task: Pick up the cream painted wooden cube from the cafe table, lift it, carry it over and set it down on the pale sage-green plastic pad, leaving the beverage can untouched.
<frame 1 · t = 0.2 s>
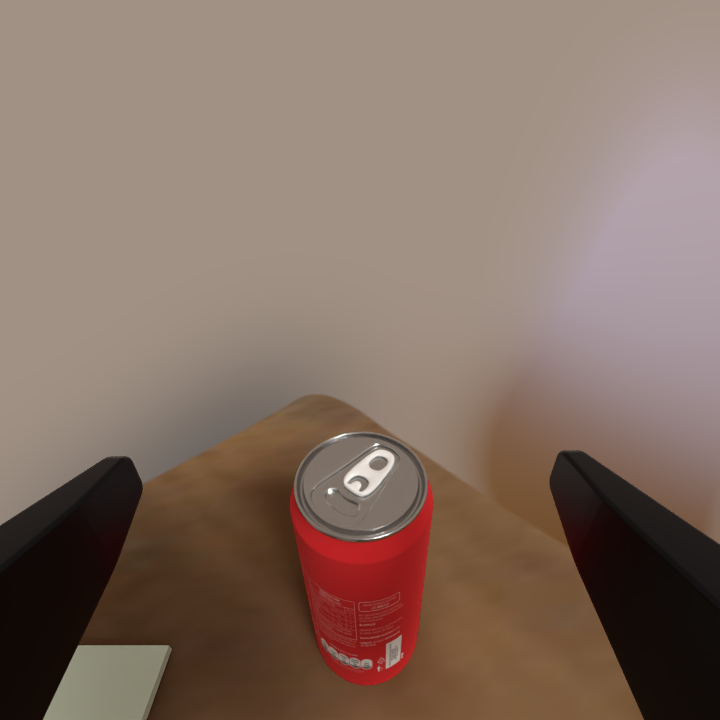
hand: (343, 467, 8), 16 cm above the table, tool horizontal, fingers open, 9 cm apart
beverage can: (366, 632, 20), on the table
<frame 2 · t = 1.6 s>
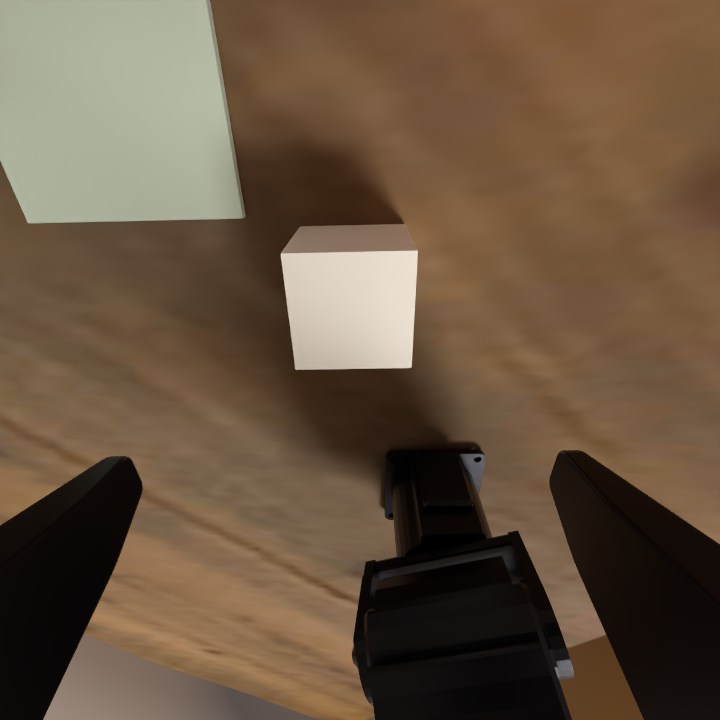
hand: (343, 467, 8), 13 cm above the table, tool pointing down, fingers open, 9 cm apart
cube: (354, 275, 19), on the table
pad: (101, 89, 15), on the table
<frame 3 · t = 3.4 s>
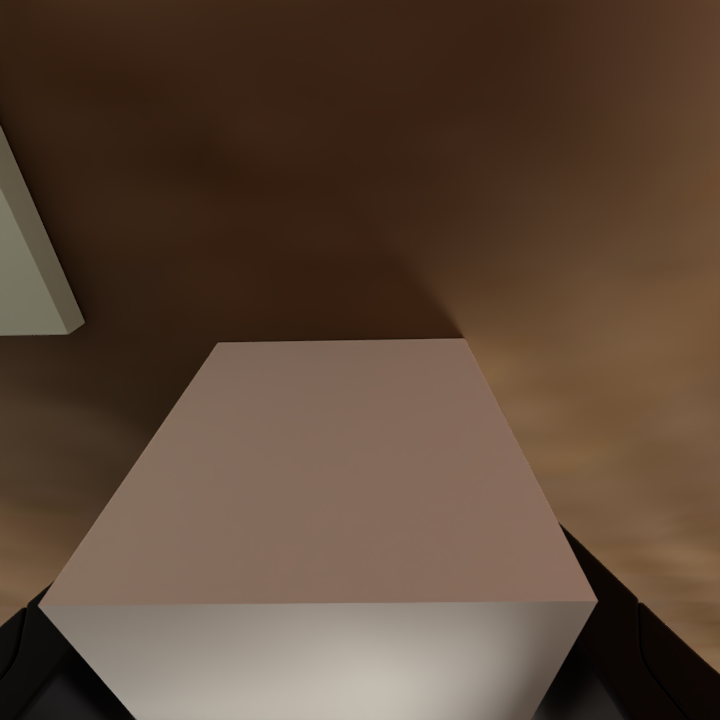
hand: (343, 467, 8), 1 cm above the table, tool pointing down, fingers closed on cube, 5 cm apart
cube: (345, 434, 9), on the table, touching gripper
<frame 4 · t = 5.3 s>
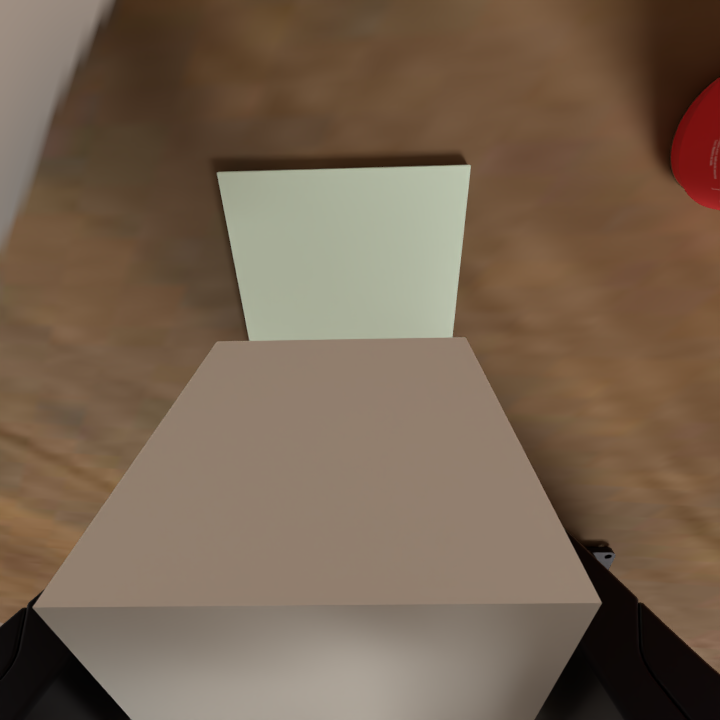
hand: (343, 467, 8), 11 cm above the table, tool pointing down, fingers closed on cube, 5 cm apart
cube: (345, 433, 9), point 10 cm above the table, touching gripper
pad: (348, 286, 18), on the table
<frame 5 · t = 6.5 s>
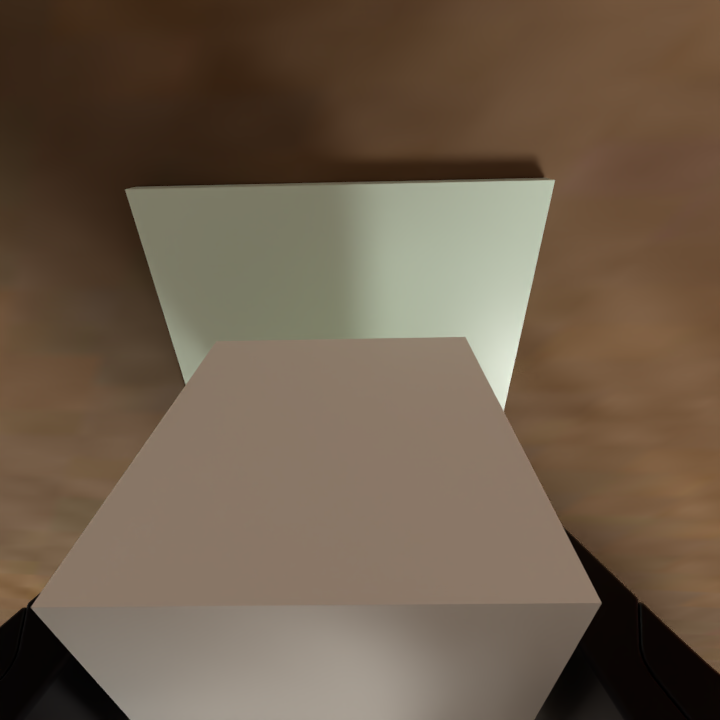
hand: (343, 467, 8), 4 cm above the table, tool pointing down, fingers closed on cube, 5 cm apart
cube: (345, 433, 9), point 3 cm above the table, touching gripper
pad: (347, 358, 12), on the table
when the fingers open (2 cm above the table, at t = 7.3 s): cube stays where it is, resting on pad.
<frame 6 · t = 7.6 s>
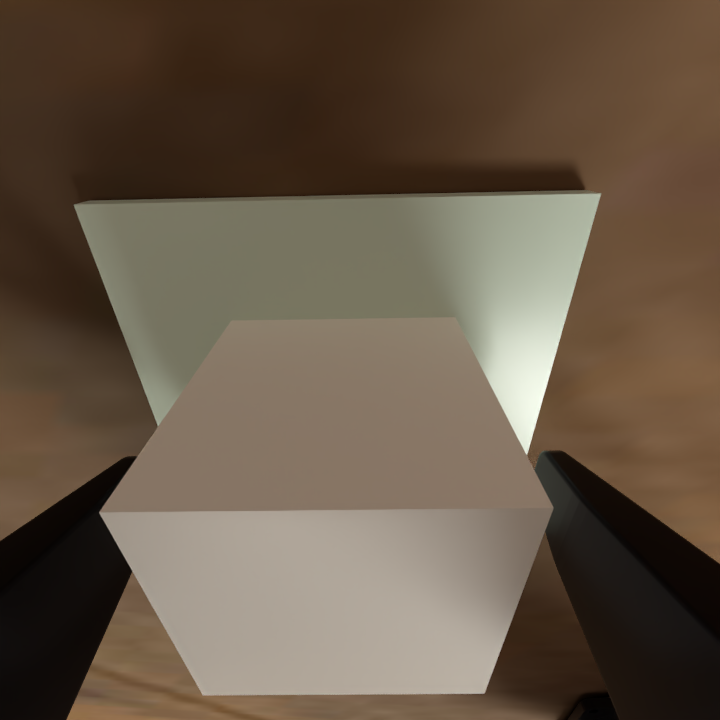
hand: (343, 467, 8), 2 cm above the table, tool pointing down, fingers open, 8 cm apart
cube: (346, 407, 10), resting on pad
pad: (346, 396, 10), on the table
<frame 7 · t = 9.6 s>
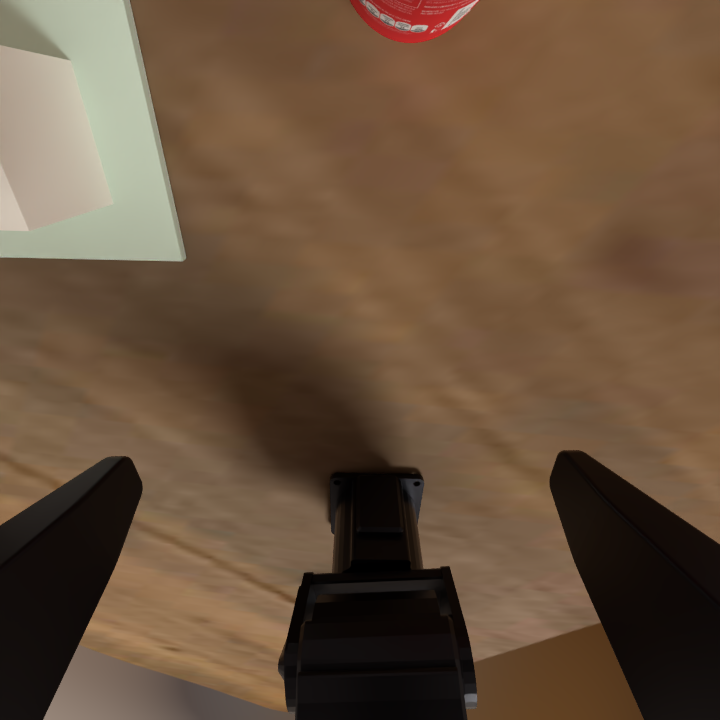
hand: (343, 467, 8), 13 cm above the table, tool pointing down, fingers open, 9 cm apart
cube: (31, 136, 15), resting on pad
pad: (39, 136, 16), on the table
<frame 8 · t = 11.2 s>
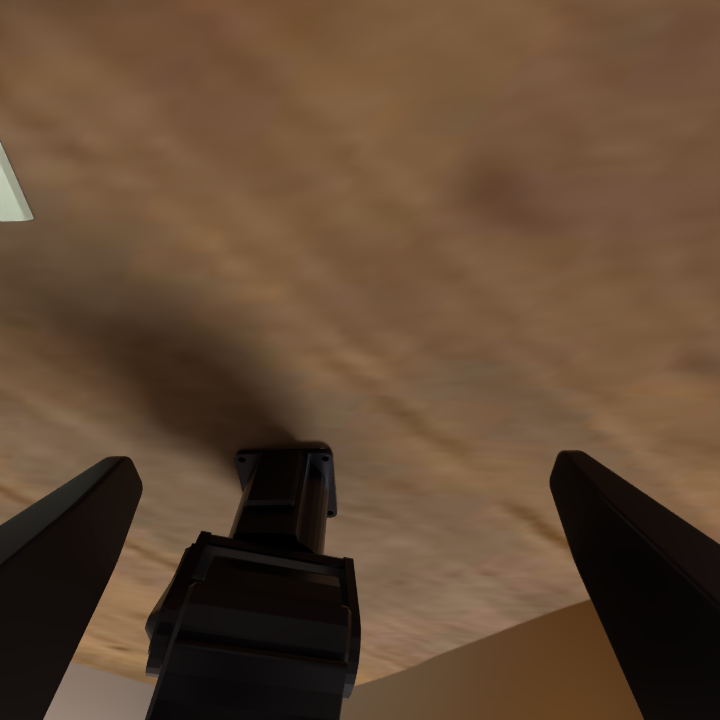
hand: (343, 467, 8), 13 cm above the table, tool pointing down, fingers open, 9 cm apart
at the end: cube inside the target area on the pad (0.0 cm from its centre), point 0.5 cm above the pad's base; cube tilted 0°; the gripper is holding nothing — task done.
